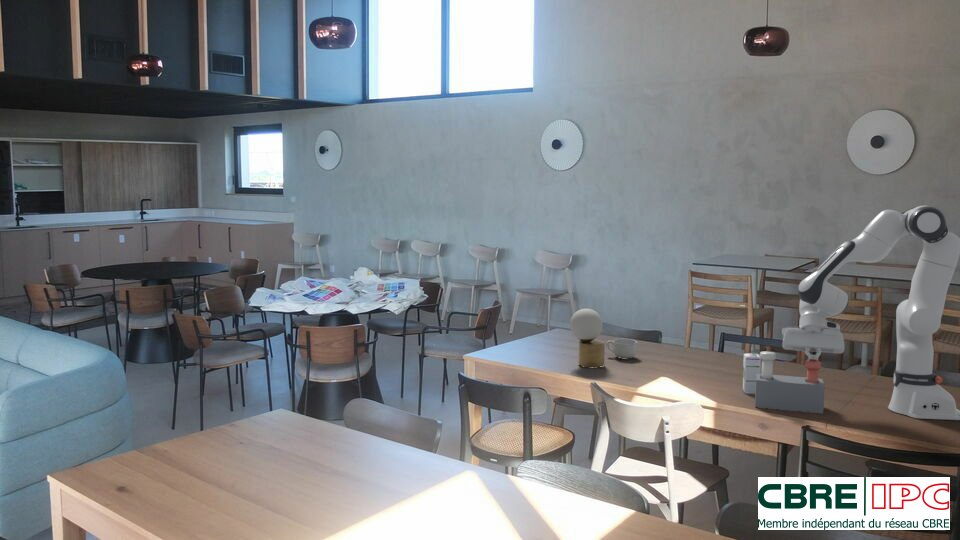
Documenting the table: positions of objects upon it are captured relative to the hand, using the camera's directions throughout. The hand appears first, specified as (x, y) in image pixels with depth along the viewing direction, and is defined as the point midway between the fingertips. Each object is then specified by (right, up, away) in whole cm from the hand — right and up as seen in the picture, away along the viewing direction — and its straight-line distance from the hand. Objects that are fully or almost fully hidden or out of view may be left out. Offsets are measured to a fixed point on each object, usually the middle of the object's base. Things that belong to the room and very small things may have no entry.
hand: (813, 360), depth 266 cm
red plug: (0, -14, +2) cm, 15 cm away
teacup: (-52, -9, +82) cm, 98 cm away
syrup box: (-13, -15, +24) cm, 32 cm away
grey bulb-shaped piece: (-14, -12, +7) cm, 20 cm away
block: (-7, -17, +5) cm, 19 cm away
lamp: (-70, -10, +67) cm, 98 cm away
